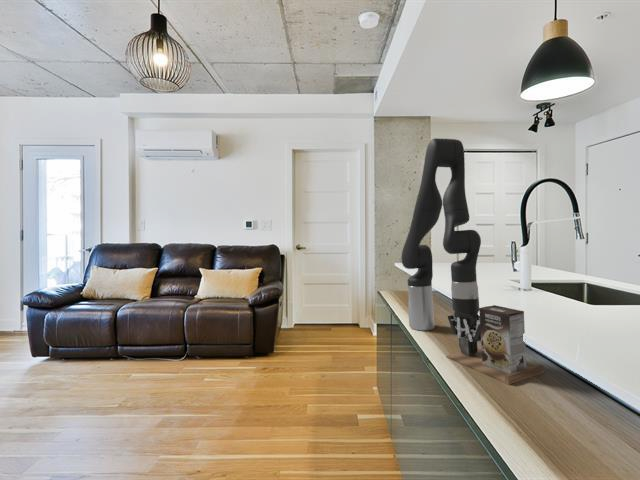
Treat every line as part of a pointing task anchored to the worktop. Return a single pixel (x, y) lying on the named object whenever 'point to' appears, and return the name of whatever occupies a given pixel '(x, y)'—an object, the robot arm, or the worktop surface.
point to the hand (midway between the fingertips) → (468, 351)
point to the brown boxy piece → (502, 338)
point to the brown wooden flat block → (476, 364)
